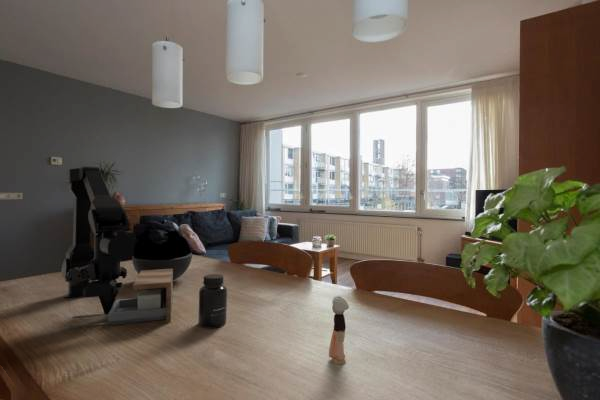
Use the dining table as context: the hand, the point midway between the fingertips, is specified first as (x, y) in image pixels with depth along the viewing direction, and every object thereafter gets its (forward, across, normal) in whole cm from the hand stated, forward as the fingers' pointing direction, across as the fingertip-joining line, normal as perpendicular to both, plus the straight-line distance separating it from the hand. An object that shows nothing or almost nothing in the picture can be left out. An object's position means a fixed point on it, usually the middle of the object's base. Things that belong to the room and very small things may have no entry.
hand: (107, 313), depth 82 cm
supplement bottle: (+2, +12, +25) cm, 28 cm away
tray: (+1, 0, +8) cm, 8 cm away
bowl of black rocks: (+2, -32, +11) cm, 34 cm away
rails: (+1, 0, +3) cm, 3 cm away
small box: (0, 0, +10) cm, 10 cm away
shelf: (+1, 0, +11) cm, 11 cm away
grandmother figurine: (+2, +38, +47) cm, 60 cm away
